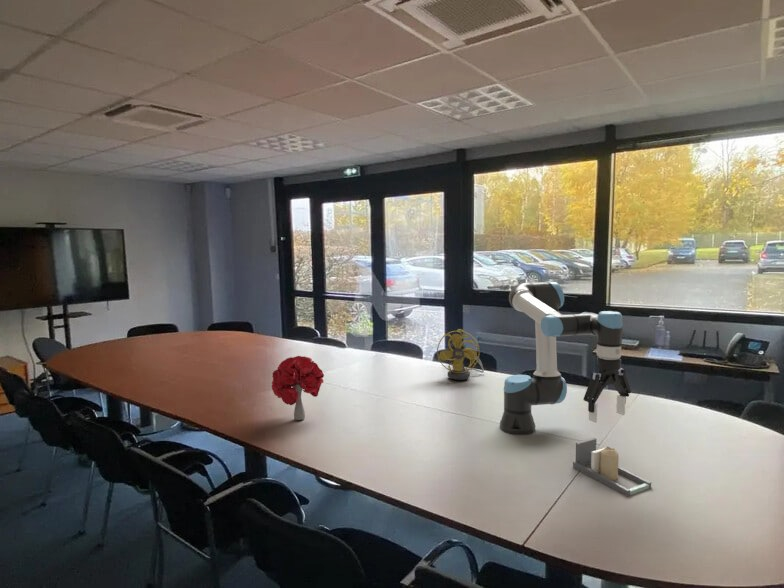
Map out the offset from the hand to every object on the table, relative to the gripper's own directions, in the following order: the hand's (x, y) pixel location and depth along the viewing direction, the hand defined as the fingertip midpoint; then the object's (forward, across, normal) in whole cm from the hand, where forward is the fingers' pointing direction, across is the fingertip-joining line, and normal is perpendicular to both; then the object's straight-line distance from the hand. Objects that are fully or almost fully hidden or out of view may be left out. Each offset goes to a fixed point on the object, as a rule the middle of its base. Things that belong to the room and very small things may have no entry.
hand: (606, 417), depth 156 cm
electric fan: (+22, +27, +128) cm, 133 cm away
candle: (+21, 0, -2) cm, 21 cm away
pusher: (+21, 0, +1) cm, 21 cm away
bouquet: (+21, -83, +104) cm, 135 cm away
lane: (+21, 0, -2) cm, 21 cm away
